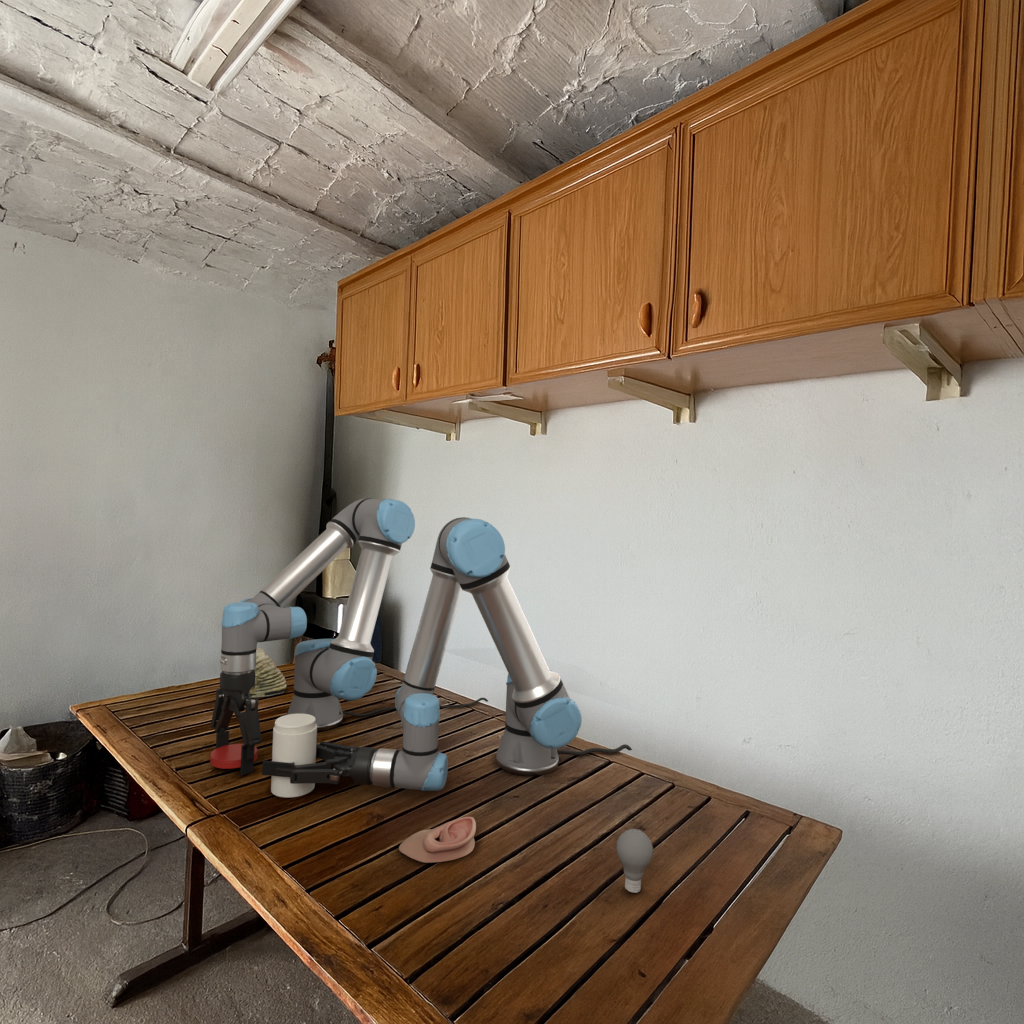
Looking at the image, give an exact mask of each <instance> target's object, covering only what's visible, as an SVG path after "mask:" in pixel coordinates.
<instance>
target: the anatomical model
mask: <svg viewBox="0 0 1024 1024" xmlns="http://www.w3.org/2000/svg"><path fill="white" fill-rule="evenodd" d="M476 832H477V823H476V819H475V818H474V817H473V816H462V817H458V818H456V819H453V820H451V821H447V822H445V823H443V824H441V825H439V826H435V827H434V828H432V829H431V828H430V829H429V828H428V829H422V830H420V831H417V832H415V833H413V834H411V835H410V836H409V837H407V838H406V839H405V840H403V841H402V843H400V845H399V846H398V851H399V852H400V853H401V854H403V855H405V856H406V857H408V858H410V859H411V860H415V861H417V862H420V863H424V864H429V863H430V864H432V863H443V862H448V861H454V860H459V859H461V858H463V857H465V856H466V857H467V855H469V854H471V853H472V852H473V850H474V849H475V845H476V843H475V842H476V840H475V838H474V837H475V835H476Z"/></svg>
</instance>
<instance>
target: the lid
mask: <svg viewBox="0 0 1024 1024" xmlns="http://www.w3.org/2000/svg"><path fill="white" fill-rule="evenodd" d="M242 745H244V743H231V744H229V745H226V746H222V747H219V748H217V749H216V748H215V749H212V751H211V752H210V755H209V756H210V757H209V764H210V766H212V767H214V768H217V769H223V770H225V769H226V770H227V769H240V768H241V746H242ZM257 759H258V747H256V746H255V751H254V762H255V761H256V760H257Z"/></svg>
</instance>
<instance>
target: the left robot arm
mask: <svg viewBox="0 0 1024 1024" xmlns="http://www.w3.org/2000/svg"><path fill="white" fill-rule="evenodd" d="M325 528H326V529H325V530H324V531H322V532H321V533H320V534H319V535H318V536H317V538H315V539H314V540H313V541H312V542H311V543H310V544H309V545H308V546H307V547H306V548H304V550H303V551H301V552H300V553H299V554H298V555H297V556H296V557H295V558H294V559H293V560H292V561H291V562H290V563H289V564H288V565H286V566H285V567H284V568H283V569H282V570H281V571H280V572H279V573H278V574H277V575H276V576H274V577H273V578H272V580H270V581H269V582H268V583H267V584H266V585H265V586H263V588H262V589H261V590H260V591H258V592H257V593H256V594H255V595H254V596H253V597H251V598H245V599H242V600H240V601H238V602H230V603H228V604H226V605H225V606H224V607H223V611H222V618H221V624H220V625H221V648H220V659H219V663H220V671H221V672H220V673H219V688H217V689H216V690H215V703H214V707H213V711H212V717H211V722H210V727H211V729H214V733H216V735H215V736H216V737H215V749H217V748H219V747H222V746H226V745H230V731H229V730H230V729H231V728H230V722H231V721H232V718H233V715H234V717H235V718H237V721H238V725H239V729H240V734H241V739H242V743H243V744H244V745H242V746H241V767H240V768H239V775H240V776H245V775H248V774H251V773H253V772H254V765H255V764H254V762H255V761H254V751H255V747H256V745H260V744H261V743H262V732H261V724H260V715H259V703H260V701H259V699H258V698H254V699H253V698H251V697H250V689H251V688H253V687H254V685H255V671H254V669H255V668H256V649H257V648H258V647H257V646H258V644H259V643H265V642H272V641H281V640H291V639H294V638H299V637H301V636H303V635H304V634H305V633H306V631H307V627H308V626H307V625H308V618H307V614H306V612H305V610H304V608H302V607H300V606H288V605H289V604H290V603H291V602H292V601H293V600H294V599H295V598H296V597H297V596H299V594H300V593H302V592H303V590H305V588H307V587H308V586H309V585H310V584H311V583H312V582H313V581H314V580H315V579H316V578H317V577H318V576H319V575H320V574H321V573H322V572H323V571H324V570H325V569H326V568H327V567H328V566H329V565H331V563H333V562H334V560H336V558H337V557H338V556H339V555H341V554H342V552H344V551H345V550H346V549H352V548H353V547H354V546H355V545H356V544H357V543H358V545H359V546H360V548H361V551H360V555H359V559H358V562H357V565H356V569H355V574H354V578H353V581H352V584H351V588H350V592H349V595H348V599H347V602H346V606H345V610H344V613H343V617H342V621H341V625H340V629H339V632H338V636H336V638H318V639H308V640H304V641H300V642H299V643H297V644H296V646H295V650H294V655H293V657H294V672H293V673H294V674H293V695H292V696H293V697H292V699H291V702H290V704H289V708H288V710H287V712H286V713H285V715H289V714H309V715H312V716H314V717H315V719H316V721H315V723H316V724H317V733H318V732H325V731H329V730H332V729H335V728H337V727H339V726H340V725H342V723H343V722H344V715H349V716H353V717H359V718H361V717H366V716H367V717H368V716H371V715H374V714H376V713H379V712H385V711H391V710H397V709H396V706H389V707H382V708H379V709H375V710H373V711H372V710H371V711H369V712H365V713H355V712H352V711H351V712H350V711H345V710H343V709H342V706H341V702H340V700H344V701H349V702H353V701H357V700H359V699H362V698H363V697H364V696H365V695H367V694H368V693H369V692H370V691H371V689H372V688H373V687H374V685H375V683H376V680H377V675H378V669H377V667H376V664H375V662H374V661H373V657H374V653H375V649H374V648H373V646H372V644H371V643H372V639H373V634H374V630H375V627H376V622H377V620H378V619H377V618H378V616H379V612H380V607H381V603H382V600H383V595H384V593H385V588H386V584H387V581H388V577H389V574H390V569H391V565H392V561H393V558H394V556H396V555H398V554H399V553H400V552H401V550H402V549H401V548H402V545H403V544H404V543H406V542H408V540H410V539H411V538H412V536H413V535H414V532H415V528H416V520H415V515H414V513H413V512H412V509H411V507H410V506H409V505H408V504H407V503H406V502H404V501H401V500H398V499H393V498H372V497H363V498H360V499H357V500H355V501H352V503H350V504H348V505H347V506H346V507H344V508H343V509H341V510H340V512H338V513H337V514H336V515H335V516H334V517H332V518H331V519H330V520H329V521H328V522H327V523H326V527H325ZM481 701H484V702H486V703H488V702H489V699H487V698H486V697H480V698H478V699H476V700H475V701H473V702H470V703H461V704H449V705H448V704H447V705H439V709H449V708H450V709H452V708H464V707H465V708H466V707H471V706H474V705H476V704H478V703H480V702H481Z"/></svg>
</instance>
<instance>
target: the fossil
mask: <svg viewBox="0 0 1024 1024" xmlns="http://www.w3.org/2000/svg"><path fill="white" fill-rule="evenodd" d="M254 671H255V685H254V687H253V688H251V689H250V697H251V699H253V698H264V697H271V696H275V695H281V694H284V693H285V691H286V689H287V687H288V686H287V680H286V678H285V676H284V674H283V673H282V672H281V669H279V668H278V667H277V665H276V663H275V662H274V660H273V659H272V658H271V657H270V656H269V655H268V654H267V653H266V652H265V650H264V649H263V648H260V647H257V648H256V668H255V669H254Z"/></svg>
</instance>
